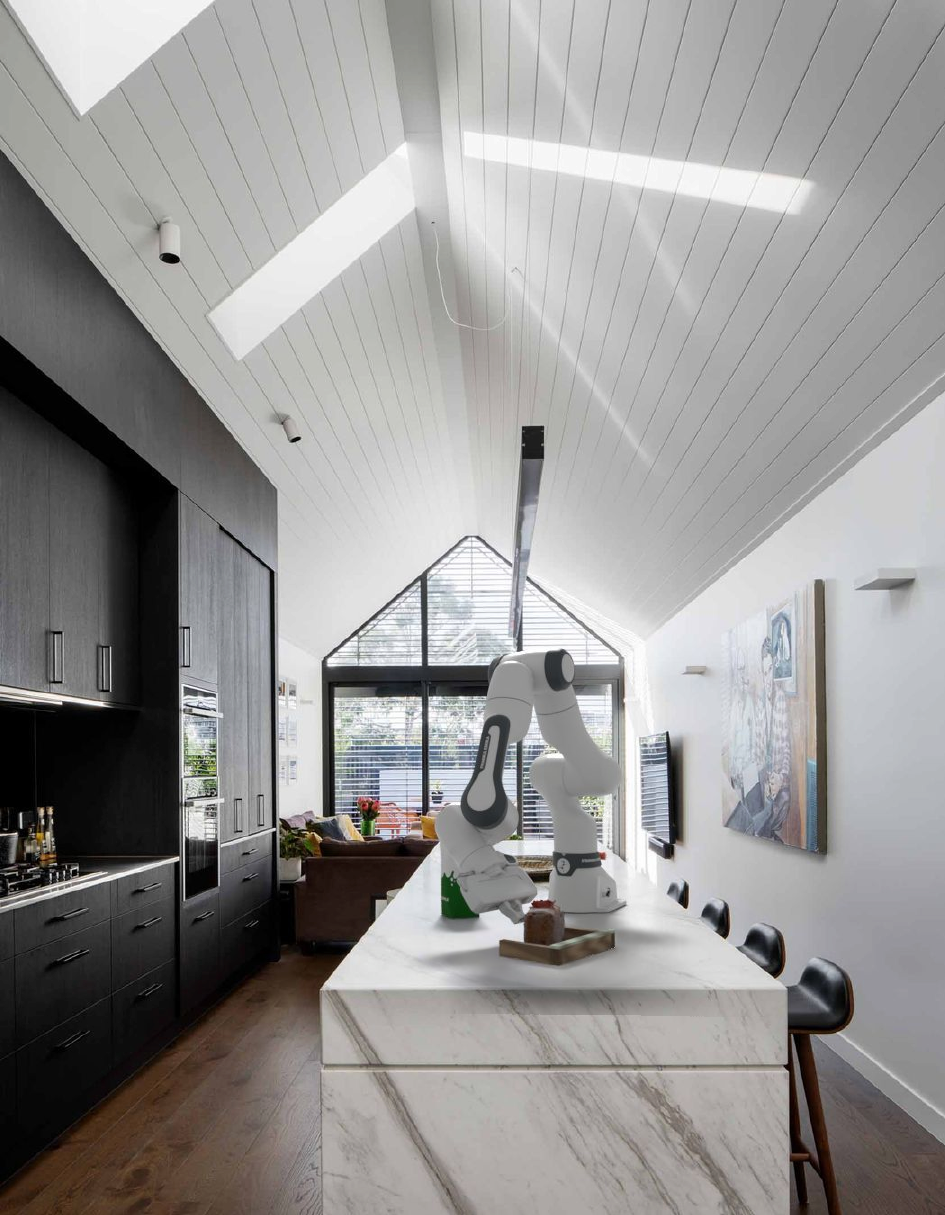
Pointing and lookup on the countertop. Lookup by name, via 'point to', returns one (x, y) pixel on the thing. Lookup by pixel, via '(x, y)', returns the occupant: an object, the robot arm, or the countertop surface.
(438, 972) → the countertop surface
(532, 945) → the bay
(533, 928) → the food item
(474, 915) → the milk carton
